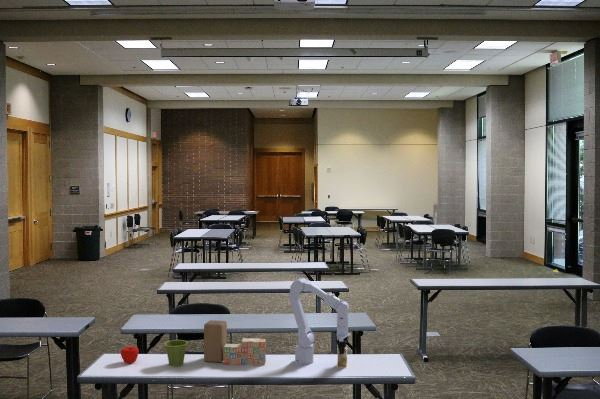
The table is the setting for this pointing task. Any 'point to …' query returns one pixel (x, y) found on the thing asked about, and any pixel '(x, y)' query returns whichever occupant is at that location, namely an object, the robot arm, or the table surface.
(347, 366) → the board
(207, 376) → the table surface
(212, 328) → the block
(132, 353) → the apple
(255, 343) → the stack of blocks
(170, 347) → the plant pot
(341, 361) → the oak block
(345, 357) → the maple block
